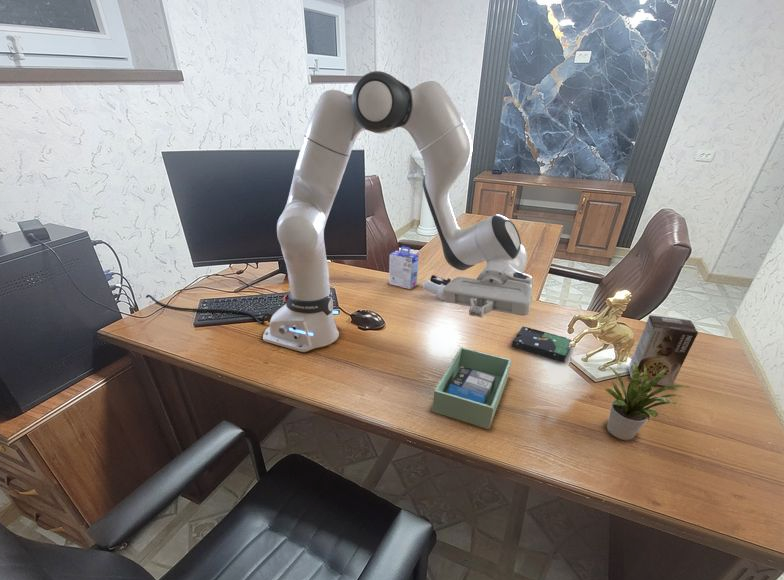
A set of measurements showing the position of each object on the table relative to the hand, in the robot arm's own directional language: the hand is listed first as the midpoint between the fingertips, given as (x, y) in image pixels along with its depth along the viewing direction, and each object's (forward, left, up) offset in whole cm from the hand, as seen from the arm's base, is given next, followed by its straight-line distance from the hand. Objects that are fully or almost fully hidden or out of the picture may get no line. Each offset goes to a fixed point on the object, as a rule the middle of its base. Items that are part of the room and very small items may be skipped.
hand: (475, 313), depth 86 cm
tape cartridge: (+3, +2, -18) cm, 19 cm away
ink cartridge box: (-28, +58, -21) cm, 68 cm away
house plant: (+35, -8, -21) cm, 42 cm away
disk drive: (+20, +24, -21) cm, 38 cm away
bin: (+2, -2, -21) cm, 21 cm away
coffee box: (+46, +16, -21) cm, 53 cm away
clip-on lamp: (-10, +53, -21) cm, 58 cm away
